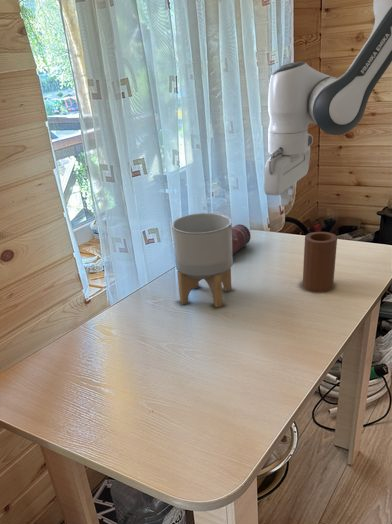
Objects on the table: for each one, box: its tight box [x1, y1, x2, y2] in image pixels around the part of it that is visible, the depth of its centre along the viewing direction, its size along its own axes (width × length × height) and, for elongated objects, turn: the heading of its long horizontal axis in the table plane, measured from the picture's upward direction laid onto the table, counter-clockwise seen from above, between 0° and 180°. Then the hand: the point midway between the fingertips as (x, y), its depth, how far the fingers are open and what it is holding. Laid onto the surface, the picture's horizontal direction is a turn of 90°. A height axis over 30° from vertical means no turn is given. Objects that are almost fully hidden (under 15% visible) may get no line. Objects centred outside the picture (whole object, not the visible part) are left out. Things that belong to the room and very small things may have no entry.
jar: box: [302, 231, 338, 293], centre depth 119 cm, size 7×7×12 cm
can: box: [232, 223, 251, 255], centre depth 141 cm, size 6×6×14 cm
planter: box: [171, 212, 234, 308], centre depth 116 cm, size 13×13×18 cm
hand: (286, 203), depth 125 cm, fingers closed
